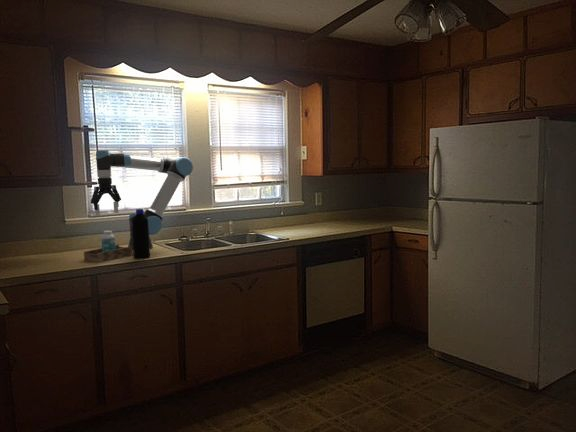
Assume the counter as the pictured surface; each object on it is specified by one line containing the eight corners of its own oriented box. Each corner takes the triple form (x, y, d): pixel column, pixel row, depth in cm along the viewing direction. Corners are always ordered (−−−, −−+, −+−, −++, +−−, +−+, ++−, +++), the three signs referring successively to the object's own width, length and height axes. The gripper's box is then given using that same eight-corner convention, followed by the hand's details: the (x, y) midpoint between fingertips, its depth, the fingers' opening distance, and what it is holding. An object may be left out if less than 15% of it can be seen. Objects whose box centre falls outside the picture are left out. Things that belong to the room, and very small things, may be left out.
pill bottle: (99, 254, 284) (98, 231, 283) (108, 252, 291) (107, 229, 289) (109, 255, 281) (108, 232, 280) (118, 253, 288) (117, 230, 286)
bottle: (131, 257, 285) (129, 209, 282) (146, 255, 291) (143, 208, 288) (137, 259, 278) (135, 210, 275) (152, 257, 284) (150, 209, 281)
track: (117, 253, 300) (117, 244, 300) (133, 254, 294) (132, 246, 293) (84, 260, 279) (83, 251, 279) (100, 262, 273) (99, 253, 272)
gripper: (116, 176, 295) (119, 211, 298) (81, 178, 273) (84, 216, 276) (125, 176, 292) (128, 211, 294) (91, 178, 270) (94, 217, 272)
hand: (107, 214), depth 285 cm, fingers open, 13 cm apart
